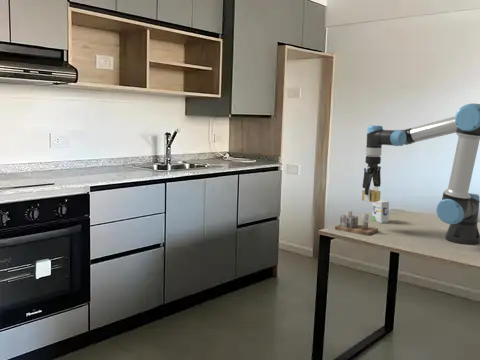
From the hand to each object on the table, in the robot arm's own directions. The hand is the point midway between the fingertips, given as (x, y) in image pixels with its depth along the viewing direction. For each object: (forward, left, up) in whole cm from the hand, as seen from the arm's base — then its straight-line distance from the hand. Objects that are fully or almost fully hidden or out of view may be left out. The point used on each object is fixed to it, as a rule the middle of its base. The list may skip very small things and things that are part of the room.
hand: (370, 199), depth 256 cm
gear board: (-4, +7, -15) cm, 17 cm away
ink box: (+19, -10, -16) cm, 27 cm away
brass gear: (0, 0, 0) cm, 0 cm away
